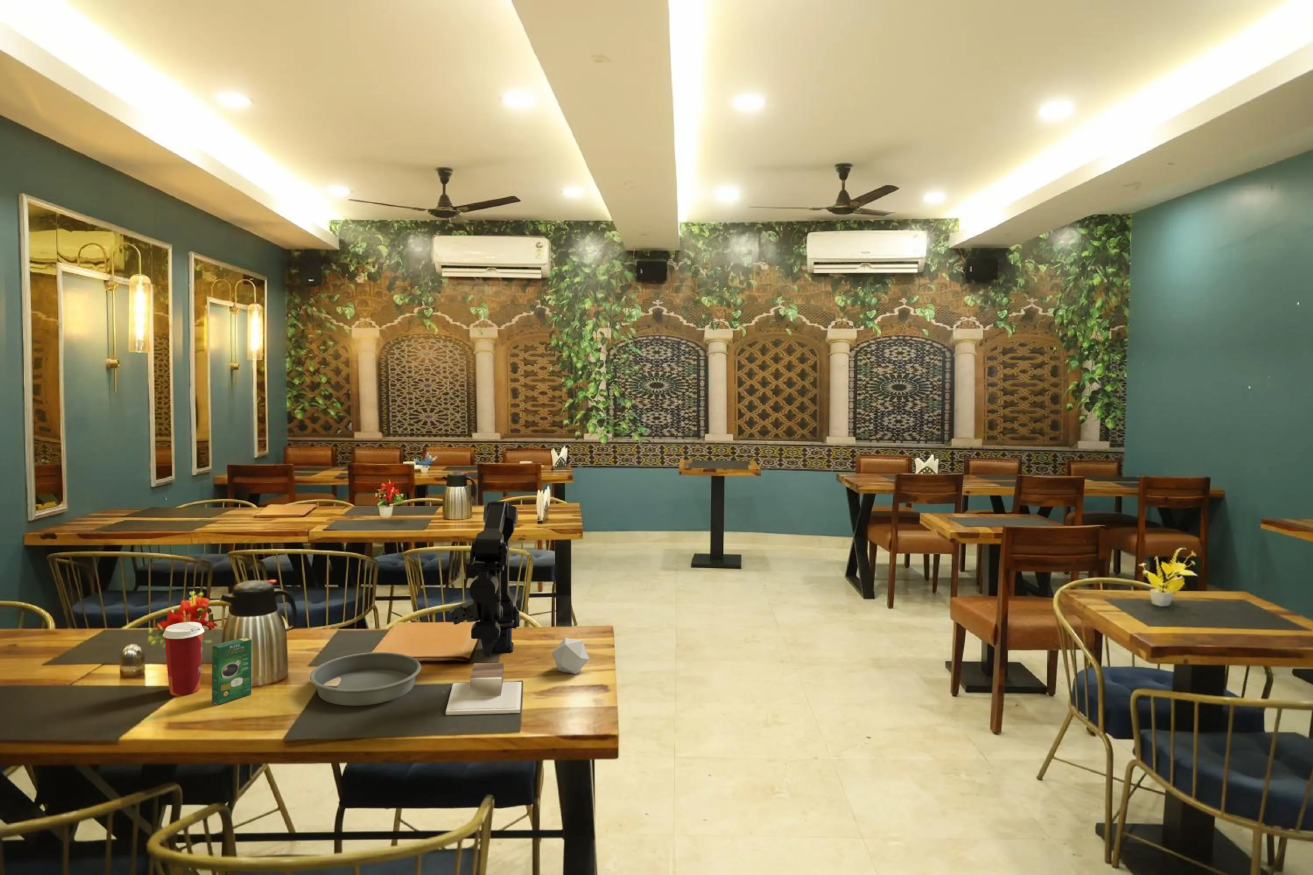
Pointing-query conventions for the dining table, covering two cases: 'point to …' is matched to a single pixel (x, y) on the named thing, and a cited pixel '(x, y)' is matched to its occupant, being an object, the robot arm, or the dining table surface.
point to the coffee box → (231, 670)
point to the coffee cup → (184, 657)
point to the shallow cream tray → (484, 700)
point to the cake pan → (366, 678)
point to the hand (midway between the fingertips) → (487, 656)
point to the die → (570, 655)
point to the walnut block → (486, 679)
